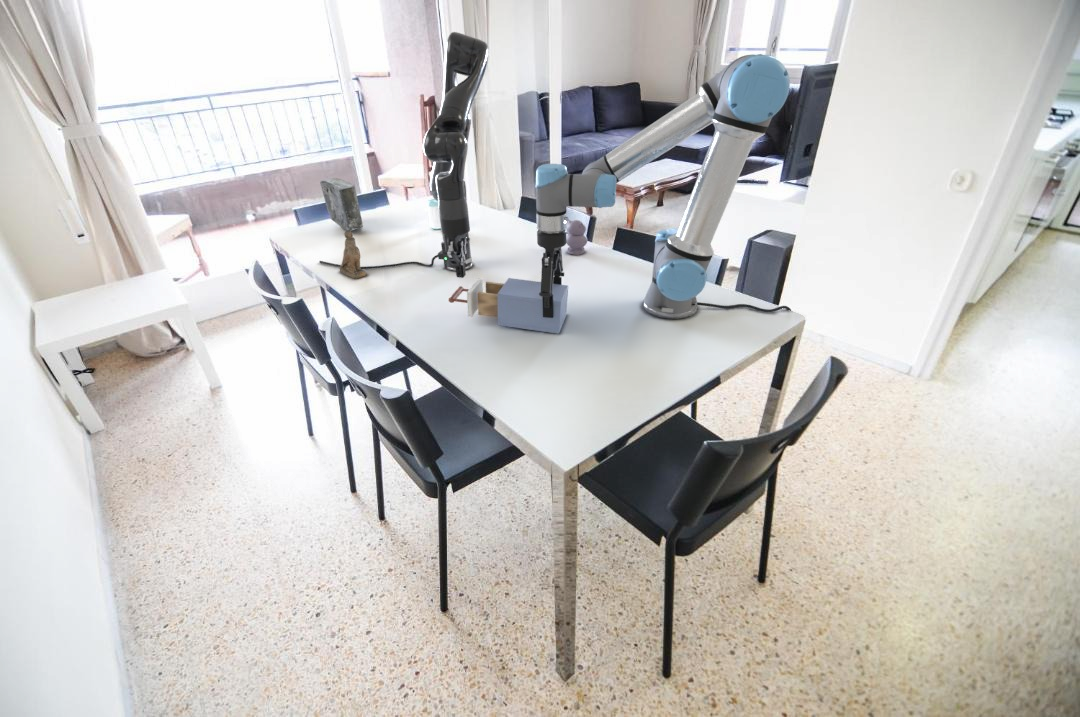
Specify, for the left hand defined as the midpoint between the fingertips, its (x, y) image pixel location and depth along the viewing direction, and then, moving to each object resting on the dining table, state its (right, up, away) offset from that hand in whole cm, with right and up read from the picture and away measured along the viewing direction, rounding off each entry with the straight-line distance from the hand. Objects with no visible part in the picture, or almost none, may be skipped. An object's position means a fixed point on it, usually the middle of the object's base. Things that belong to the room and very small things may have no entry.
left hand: (461, 276), depth 139 cm
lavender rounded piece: (+36, +18, +51) cm, 65 cm away
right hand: (+26, -9, -1) cm, 27 cm away
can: (-24, +36, +84) cm, 95 cm away
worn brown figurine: (-45, +8, +40) cm, 61 cm away
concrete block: (-66, +37, +88) cm, 116 cm away
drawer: (+8, -9, +4) cm, 13 cm away
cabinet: (+20, -12, +2) cm, 23 cm away
